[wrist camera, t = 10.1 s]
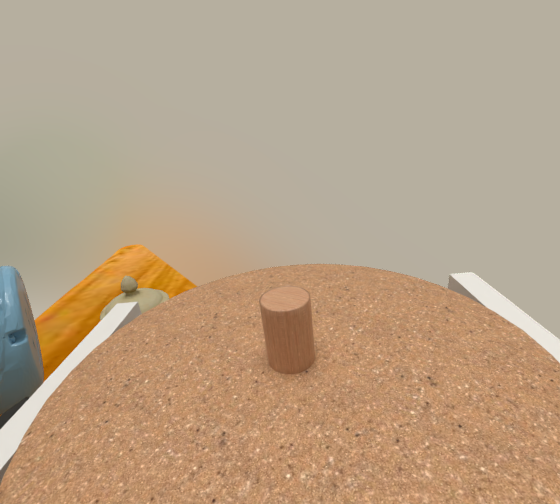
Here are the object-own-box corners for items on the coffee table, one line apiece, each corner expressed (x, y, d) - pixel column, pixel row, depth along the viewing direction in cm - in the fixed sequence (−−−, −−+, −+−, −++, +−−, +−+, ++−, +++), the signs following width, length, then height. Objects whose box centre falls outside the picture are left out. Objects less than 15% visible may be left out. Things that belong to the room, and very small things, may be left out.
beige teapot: (218, 389, 41) (195, 287, 35) (127, 439, 35) (82, 328, 30) (180, 335, 52) (158, 251, 47) (107, 366, 47) (72, 276, 41)
